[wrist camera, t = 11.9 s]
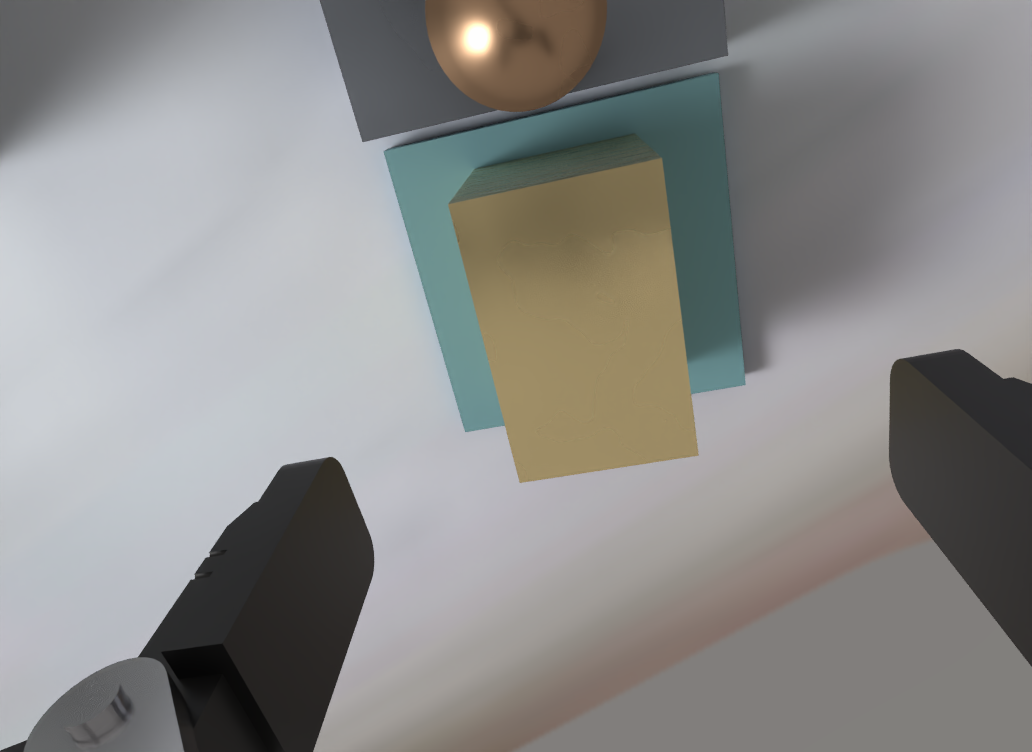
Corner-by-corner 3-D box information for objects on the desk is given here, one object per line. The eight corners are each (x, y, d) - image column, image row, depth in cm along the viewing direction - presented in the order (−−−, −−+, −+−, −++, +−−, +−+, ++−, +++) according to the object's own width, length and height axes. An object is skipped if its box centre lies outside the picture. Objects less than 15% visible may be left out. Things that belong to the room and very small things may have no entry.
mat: (388, 149, 19) (383, 151, 18) (713, 72, 17) (718, 72, 17) (467, 422, 22) (465, 432, 22) (740, 376, 21) (745, 385, 21)
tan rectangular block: (474, 169, 18) (447, 204, 14) (634, 133, 18) (661, 158, 13) (527, 392, 21) (520, 483, 17) (667, 368, 20) (698, 455, 16)
